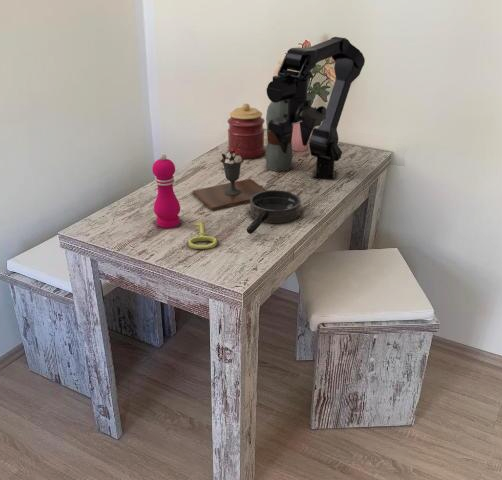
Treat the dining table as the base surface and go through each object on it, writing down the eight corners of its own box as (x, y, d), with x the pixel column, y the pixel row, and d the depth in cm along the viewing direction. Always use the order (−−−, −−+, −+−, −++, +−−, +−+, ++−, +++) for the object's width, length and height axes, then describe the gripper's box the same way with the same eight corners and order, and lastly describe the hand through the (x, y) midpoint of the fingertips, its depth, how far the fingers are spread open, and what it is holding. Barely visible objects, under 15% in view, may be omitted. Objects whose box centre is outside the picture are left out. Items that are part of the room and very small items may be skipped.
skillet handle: (262, 215, 159) (262, 209, 158) (269, 217, 159) (269, 210, 158) (245, 234, 150) (245, 227, 149) (252, 235, 149) (252, 228, 148)
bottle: (271, 160, 201) (273, 71, 186) (296, 164, 198) (300, 73, 182) (260, 169, 194) (262, 77, 178) (286, 173, 191) (289, 80, 175)
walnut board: (250, 181, 185) (250, 178, 185) (272, 197, 175) (272, 194, 174) (192, 193, 178) (192, 190, 177) (212, 210, 167) (212, 207, 167)
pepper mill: (176, 230, 157) (171, 159, 146) (151, 227, 158) (144, 157, 147) (184, 218, 163) (179, 150, 152) (159, 216, 164) (153, 148, 153)
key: (203, 226, 158) (202, 219, 157) (219, 246, 149) (219, 239, 147) (177, 232, 156) (177, 224, 155) (193, 252, 146) (192, 245, 145)
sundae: (248, 192, 175) (248, 144, 167) (231, 198, 172) (230, 149, 164) (234, 186, 180) (233, 139, 172) (217, 191, 176) (215, 143, 168)
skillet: (256, 200, 173) (256, 188, 171) (303, 205, 170) (303, 192, 168) (245, 221, 161) (245, 208, 159) (295, 226, 158) (296, 213, 156)
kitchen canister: (237, 145, 215) (237, 97, 206) (269, 150, 211) (270, 101, 201) (221, 156, 205) (220, 106, 196) (255, 161, 201) (255, 110, 191)
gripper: (298, 107, 154) (295, 163, 162) (340, 95, 165) (335, 148, 174) (267, 100, 161) (266, 154, 169) (309, 88, 172) (306, 139, 180)
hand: (294, 149), depth 173 cm, fingers open, 9 cm apart
